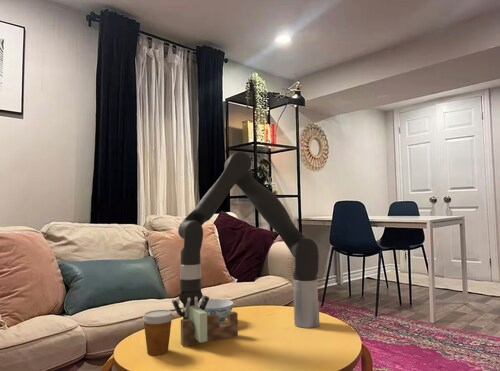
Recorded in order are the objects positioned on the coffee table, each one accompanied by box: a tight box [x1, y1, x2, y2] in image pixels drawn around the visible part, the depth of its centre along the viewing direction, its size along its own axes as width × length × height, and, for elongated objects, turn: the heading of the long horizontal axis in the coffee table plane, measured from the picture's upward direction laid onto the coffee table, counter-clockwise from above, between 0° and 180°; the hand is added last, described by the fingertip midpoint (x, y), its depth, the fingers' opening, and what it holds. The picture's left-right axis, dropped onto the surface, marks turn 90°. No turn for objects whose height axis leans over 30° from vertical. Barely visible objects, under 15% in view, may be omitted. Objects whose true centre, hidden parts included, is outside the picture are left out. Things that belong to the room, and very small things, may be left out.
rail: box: [180, 310, 239, 347], centre depth 127 cm, size 20×2×8 cm, turn 118°
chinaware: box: [198, 298, 234, 325], centre depth 147 cm, size 15×15×8 cm
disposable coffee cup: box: [142, 309, 174, 357], centre depth 117 cm, size 10×10×12 cm
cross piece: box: [188, 305, 207, 343], centre depth 125 cm, size 14×2×9 cm, turn 28°
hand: (190, 326), depth 130 cm, fingers closed on cross piece, 2 cm apart
